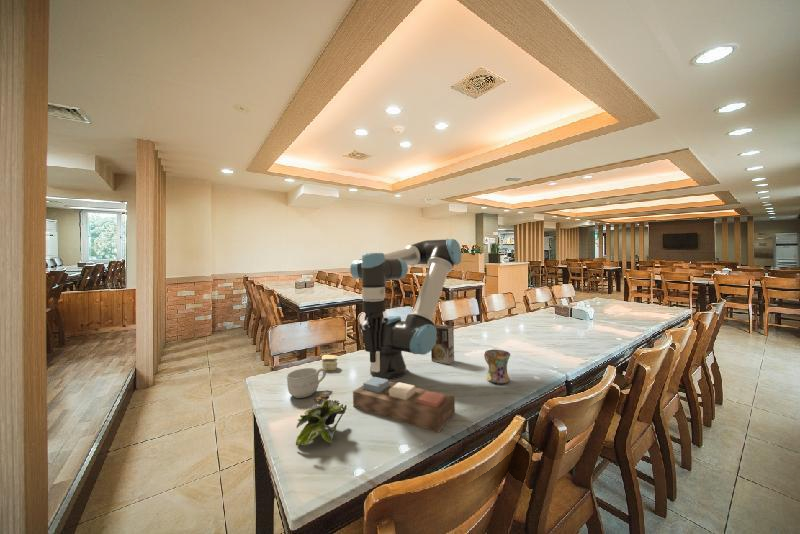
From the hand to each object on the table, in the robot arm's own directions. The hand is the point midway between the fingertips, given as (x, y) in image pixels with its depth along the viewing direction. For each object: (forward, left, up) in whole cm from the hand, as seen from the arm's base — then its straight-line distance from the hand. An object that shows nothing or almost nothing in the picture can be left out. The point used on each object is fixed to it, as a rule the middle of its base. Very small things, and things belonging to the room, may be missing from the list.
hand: (375, 370), depth 99 cm
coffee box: (+4, +47, -11) cm, 49 cm away
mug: (+30, +37, -11) cm, 49 cm away
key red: (+20, 0, -9) cm, 22 cm away
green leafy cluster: (-1, -23, -11) cm, 25 cm away
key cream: (+10, 0, -8) cm, 13 cm away
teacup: (-26, -6, -11) cm, 29 cm away
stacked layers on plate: (-37, +16, -11) cm, 41 cm away
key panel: (+10, 0, -11) cm, 15 cm away
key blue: (0, 0, -8) cm, 8 cm away
